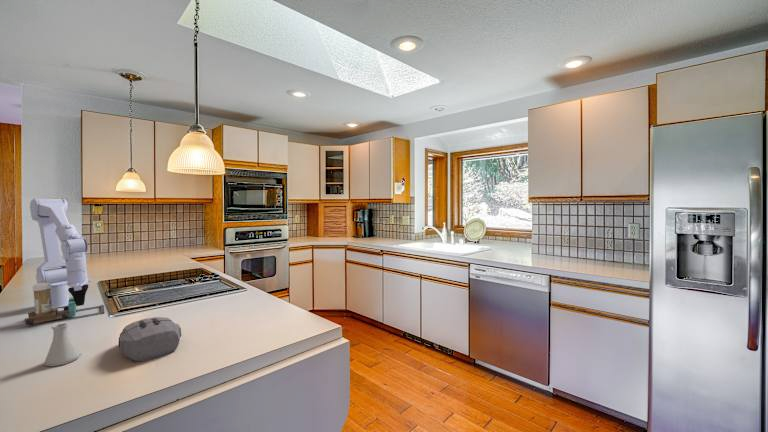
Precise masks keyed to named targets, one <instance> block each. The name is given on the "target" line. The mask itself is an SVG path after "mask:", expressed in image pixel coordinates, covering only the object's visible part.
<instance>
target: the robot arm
mask: <svg viewBox="0 0 768 432" xmlns="http://www.w3.org/2000/svg"><path fill="white" fill-rule="evenodd" d="M68 205H69V204H68V202H67V199H65V198H64V197H62V198H61V197H60V198H32V199H31V200H30V204H29V211H30V215H31V216H30V217H31V220H32V221H35V222H37V223H38V226H39V233H40V239H41V244H42V250H43V251H42V252H43V256H44V257H43V258H44V261H43V262H42V263H41V264H40V265H39V266H38V267H36V269H35V270H36V271H35V272H36V275H35V279H36V282H37V283H36V284H40V283H50V285H51V288H50V293H51V301H52V308H58V309H59V308H64V307H66V306H68V302H69V298H70V295H71V296H72V297H73V298H74V300H75V304H76V307H79V306H84V304H85V301H86V294H87V291H88V289H89V284H88V283H91V282H92V281H93V279H91V278H89V279H88V267H87V257H86V256H87V255H86V253H87V252H88V249H89V247H88V246H89V244H88V241H87V239H86V238H85V237H83V236H82V235H80V234H79V232H78V230H77V228H76V227H75V225H74V224H72V223H69V220H68V217H67V211H68V209H69V206H68ZM59 242H60V243H59ZM61 253H62V256H63V259H62V258H61V257H62V256H61ZM69 293H70V294H69Z"/></svg>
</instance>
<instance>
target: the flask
mask: <svg viewBox="0 0 768 432" xmlns="http://www.w3.org/2000/svg"><path fill="white" fill-rule="evenodd" d="M69 324H70V323H68V322H63V323H62V322H61V323H57V324H55V325H53V326H51V330H52V331H53V336H52V341H51V344H50V347H49V350H48V352H47V355H46V358H45V360H44V362H43V366H45V367H46V366H47V367H58V366H63V365H67V364H69V363H71V362H73V361H76V360H78V359H79V358H80V357H81V355H82V353H81V352H80V350H79V349H78V347H77V346H76V344H75V343H74V341H73V340H72V338H71V336H70V334H69V330H68V326H69Z"/></svg>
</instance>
